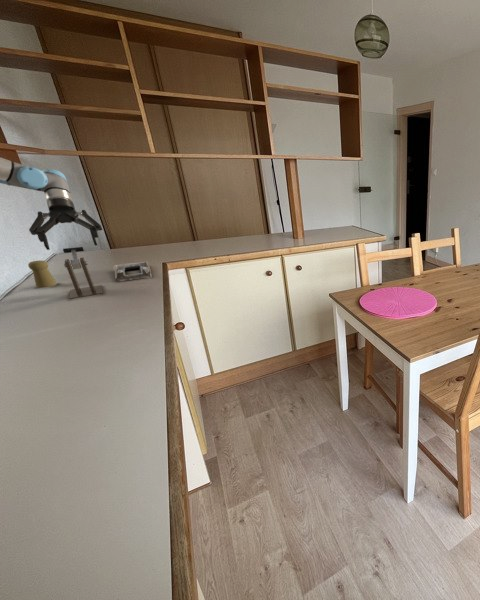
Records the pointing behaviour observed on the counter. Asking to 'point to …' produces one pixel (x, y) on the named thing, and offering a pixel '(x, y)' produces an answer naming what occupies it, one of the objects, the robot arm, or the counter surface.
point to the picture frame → (132, 266)
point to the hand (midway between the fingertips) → (72, 245)
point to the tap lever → (74, 256)
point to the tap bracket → (78, 291)
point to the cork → (41, 274)
